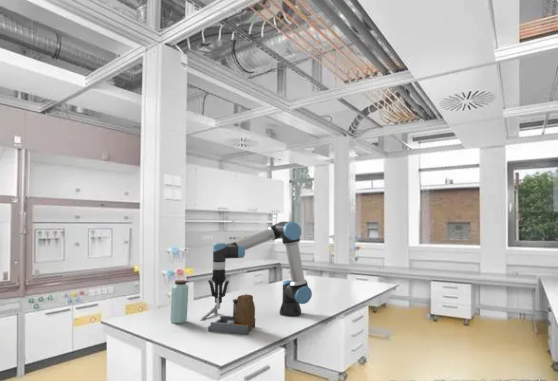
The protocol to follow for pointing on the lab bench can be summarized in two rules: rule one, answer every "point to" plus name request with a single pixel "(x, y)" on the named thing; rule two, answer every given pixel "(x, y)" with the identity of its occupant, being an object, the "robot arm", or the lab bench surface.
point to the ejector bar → (233, 312)
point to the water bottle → (179, 302)
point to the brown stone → (245, 311)
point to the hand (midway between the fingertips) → (218, 308)
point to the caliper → (210, 313)
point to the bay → (228, 326)
